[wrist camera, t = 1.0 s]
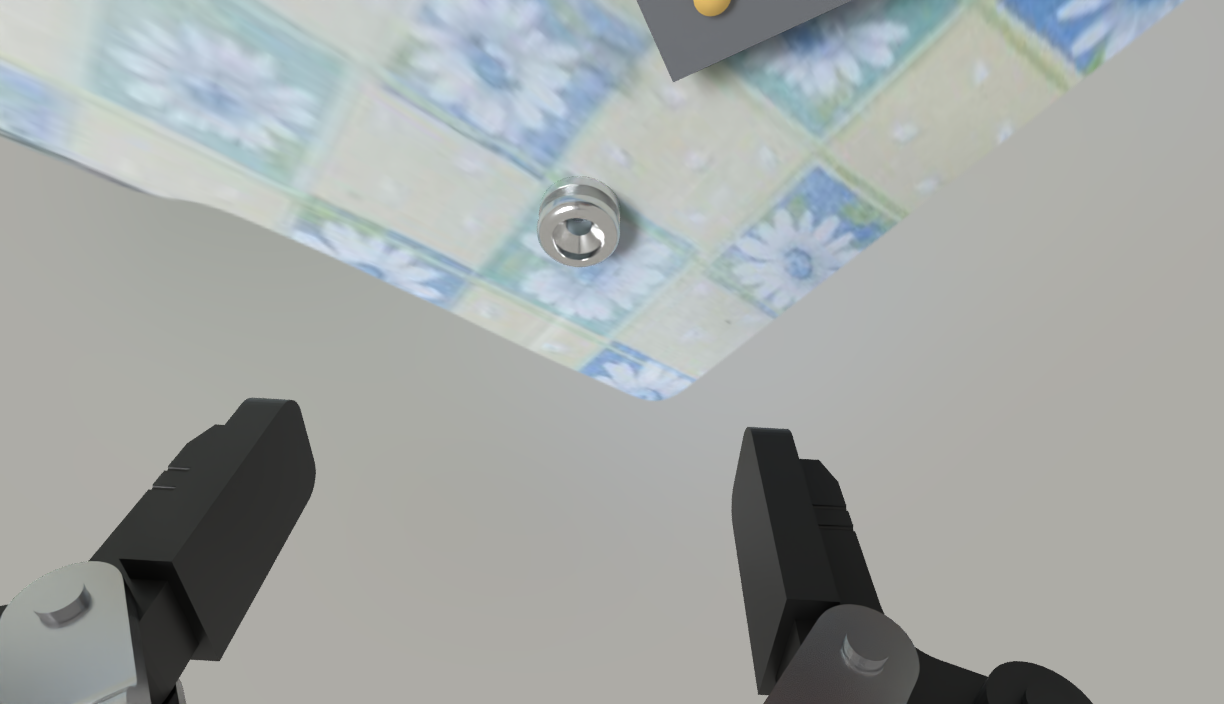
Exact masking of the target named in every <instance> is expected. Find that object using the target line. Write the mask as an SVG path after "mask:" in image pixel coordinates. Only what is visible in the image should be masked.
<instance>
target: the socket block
mask: <svg viewBox="0 0 1224 704" xmlns="http://www.w3.org/2000/svg"><path fill="white" fill-rule="evenodd" d="M849 1H852V0H637V2H638V4H639V6H640V9H641V11H642V13H643V15H644V18H645V20H646V22H647V24H648V27H649V29H650V31H651V33H652V36H653V38H654V40H655V42H656V45H657V47H658V49H659V51H660V54H661V56H662V58H663V60H664V63H665V65H666V67H667V69H668V72H669V74H670V76H671V78H672V81H673V82H675V81H677V80H680V79H682V78H684V77H686V76H688V75H690V74H693V73H695V72H697V71H699V70H701V69H703V68H706V67H708V66H710V65H712V64H714V63H717V62H719V61H721V60H723V59H725V58H727V57H730V56H732V55H734V54H736V53H738V52H741V51H743V50H745V49H747V48H749V47H751V46H754V45H756V44H758V43H760V42H762V41H764V40H767V39H769V38H771V37H773V36H775V35H778V34H780V33H782V32H784V31H786V30H788V29H791V28H793V27H795V26H797V25H799V24H801V23H804V22H806V21H808V20H810V19H812V18H815V17H817V16H819V15H821V14H823V13H825V12H828V11H830V10H832V9H834V8H836V7H838V6H841V5H843V4H845V3H847V2H849Z"/></svg>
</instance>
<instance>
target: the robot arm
mask: <svg viewBox="0 0 1224 704" xmlns="http://www.w3.org/2000/svg"><path fill="white" fill-rule="evenodd" d="M315 474H316V470H315V462H314V458H313V454H312V451H311V447H310V443H309V439H308V436H307V432H306V428H305V425H304V421H303V418H302V413H301V410H300V407H299V405H298V404H297V402H295V401H293V400H282V399H265V398H249V399H246V400H245V401H244V402H243V403H242V404H241V405H240V406H239V408H238V409H237V410H236V412H235V413H234V414H233V415H232V417H231V418H230V419H229V420H228V422H227V423H226V424H225V425H214V426H213V427H211V428H209V429H208V430H207V431H205V432H204V433H202V434H201V435H199V436H198V437H196V438H195V439H193V440H192V441H190V442H189V443H187V444H186V445H185V447H184V448H183V449H182V450H181V451H180V453H179V454H178V455H177V456H176V457H175V459H174V460H173V461H172V462H171V463H170V465H169V466H168V470H167V471H164V472H163V473H162V474H161V475H160V476H159V478H158V479H157V480H156V482H154V484H153V488H152V490H148V491H147V492H146V493H145V495H144V496H143V497H142V498H141V499H140V500H139V502H138V503H137V504H136V505H135V506H134V508H133V509H132V510H131V511H130V512H129V513H128V515H127V516H126V517H125V518H124V520H123V521H122V522H121V523H120V524H119V525H118V527H117V528H116V529H115V530H114V531H113V533H112V534H111V535H110V536H109V537H108V539H107V540H106V541H105V542H104V543H103V545H102V546H101V547H100V548H99V550H98V551H97V552H96V553H95V554H94V555H93V557H92V558H91V559H90V560H89V561H88V562H81V563H76V564H71V565H68V566H65V567H62V568H59V569H57V570H54V571H52V572H50V573H48V574H46V575H44V576H42V577H40V578H39V579H37V580H36V581H34V582H32V583H31V584H30V585H28V586H27V587H26V588H24V589H23V590H22V591H21V592H20V593H19V594H18V595H17V596H16V597H14V598H13V600H12V601H11V602H10V603H9V604H8V605H4V606H0V704H186V701H185V695H184V690H183V686H182V683H181V681H180V679H179V677H180V675H181V674H182V672H183V670H184V669H185V667H186V665H187V663H188V662H189V660H190V659H191V660H208V661H220V659H221V658H222V656H223V654H224V652H225V650H226V648H227V647H228V645H229V643H230V641H231V639H232V638H233V636H234V634H235V632H236V630H237V628H238V627H239V625H240V623H241V621H242V620H243V618H244V616H245V614H246V612H247V610H248V609H249V607H250V605H251V603H252V602H253V600H254V598H255V596H256V594H257V593H258V591H259V589H260V587H261V585H262V584H263V582H264V580H265V578H266V576H267V575H268V573H269V571H270V569H271V567H272V565H273V564H274V562H275V560H276V558H277V556H278V554H279V553H280V551H281V549H282V547H283V546H284V544H285V542H286V540H287V538H288V536H289V535H290V533H291V531H292V529H293V527H294V526H295V524H296V522H297V520H298V518H299V517H300V515H301V513H302V511H303V509H304V508H305V506H306V504H307V502H308V500H309V499H310V496H311V494H312V491H313V488H314V483H315ZM732 523H733V530H734V537H735V543H736V550H737V557H738V564H739V570H740V576H741V583H742V590H743V597H744V603H745V610H746V616H747V623H748V630H749V637H750V643H751V650H752V656H753V663H754V670H755V677H756V683H757V690H758V695H759V694H760V695H769V696H768V698H767V699H766V701H765V702H764V704H1093V703H1092V702H1091V701H1090V700H1089V699H1088V698H1087V697H1086V695H1085V694H1084V693H1083V692H1082V691H1081V690H1079V689H1078V688H1077V687H1076V686H1075V685H1074V684H1072V683H1071V682H1070V681H1068V680H1067V679H1065V678H1064V677H1062V676H1061V675H1059V674H1057V673H1055V672H1054V671H1052V670H1049V669H1047V668H1045V667H1043V666H1040V665H1037V664H1033V663H1028V662H1020V661H1019V662H1018V661H1013V662H1007V663H1004V664H1001V665H999V666H998V667H996V668H995V669H994V670H993V671H992V672H991V674H990V675H989V677H987V676H984V675H981V674H978V673H975V672H972V671H970V670H966V669H964V668H961V667H958V666H955V665H952V664H950V663H947V662H943V661H941V660H939V659H936V658H934V657H931V656H929V655H927V654H925V653H924V652H922V651H920V650H919V649H917V648H916V647H914V645H913V643H912V641H911V639H910V638H909V637H908V635H907V634H906V633H905V632H904V631H903V629H902V628H901V627H900V626H899V625H898V624H896V623H895V622H894V621H893V620H892V619H890V618H889V617H887V616H886V615H884V612H883V610H882V608H881V606H880V603H879V600H878V597H877V594H876V591H875V588H874V585H873V582H872V580H871V576H870V574H869V571H868V568H867V565H866V562H865V559H864V556H863V553H862V550H861V547H860V544H859V541H858V539H857V536H856V533H855V531H853V524H852V521H851V518H850V515H849V512H848V511H846V504H845V501H844V498H843V495H842V492H841V489H840V486H839V483H838V481H837V480H836V479H835V478H834V477H833V476H832V475H831V473H830V472H829V471H828V470H827V469H826V468H825V466H824V465H823V464H822V463H821V462H820V461H819V460H809V459H799V457H798V453H797V450H796V447H795V443H794V440H793V436H792V433H791V431H790V430H788V429H775V428H758V427H747V428H746V430H745V432H744V436H743V441H742V446H741V451H740V457H739V461H738V466H737V471H736V476H735V481H734V487H733V494H732Z"/></svg>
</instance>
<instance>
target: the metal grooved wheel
mask: <svg viewBox="0 0 1224 704" xmlns="http://www.w3.org/2000/svg"><path fill="white" fill-rule="evenodd" d="M572 218H582V219H586V220H585V221H577V220H574V219H572ZM537 237H538V240H539V243H540V245H541V247H542V248H543V250H544V251H545V252H546V253H547V254H548V255H549V256H550V257H551V258H552V259H554V260H555V261H557V262H559V263H561V264H564V265H567V266H571V267H588V266H593V265H596V264H598V263H601V262H602V261H604V260H606V259H607V258H608V257H609V256H610V255H611V254H612V253H613V252H614V250H615V249H616V247H617V245H618V242H619V238H620V204H619V201H618V199H617V197H616V195H615V193H614V192H613V191H612V190H611V189H610V188H609V187H608V186H607V185H605V184H604V183H602V182H600V181H598V180H596V179H593V178H590V177H584V176H572V177H567V178H564V179H561V180H559V181H557V182H555V183H554V184H552V185H551V186H550V187H549V188H548V189H547V190H546V191H545V193H544V195H543V197H542V199H541V203H540V210H539V218H538V223H537Z"/></svg>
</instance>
